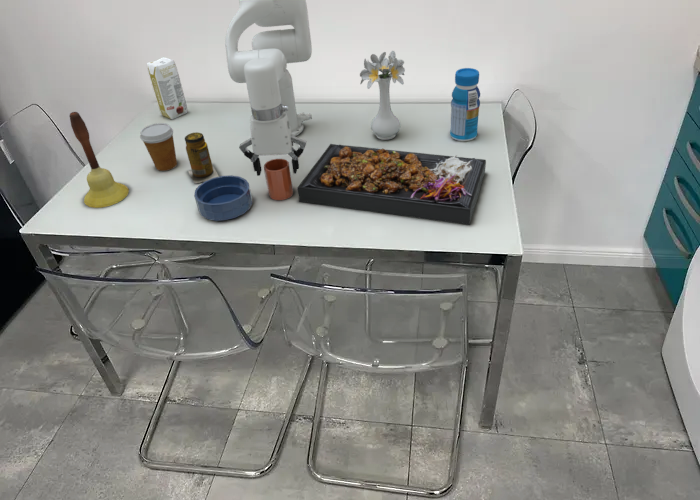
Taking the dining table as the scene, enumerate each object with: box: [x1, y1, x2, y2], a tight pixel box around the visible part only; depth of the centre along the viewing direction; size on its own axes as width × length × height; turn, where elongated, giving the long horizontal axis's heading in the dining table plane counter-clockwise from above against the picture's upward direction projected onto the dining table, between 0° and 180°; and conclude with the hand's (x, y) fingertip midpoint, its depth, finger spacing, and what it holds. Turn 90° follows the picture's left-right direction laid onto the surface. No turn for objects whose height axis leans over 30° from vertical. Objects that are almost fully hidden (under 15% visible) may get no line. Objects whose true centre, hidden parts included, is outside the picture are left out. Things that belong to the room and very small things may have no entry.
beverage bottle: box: [449, 67, 481, 142], centre depth 166 cm, size 8×8×20 cm
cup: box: [263, 158, 294, 201], centre depth 151 cm, size 7×7×9 cm
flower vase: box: [359, 50, 406, 141], centre depth 169 cm, size 13×18×25 cm
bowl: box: [193, 174, 253, 222], centre depth 149 cm, size 14×14×6 cm
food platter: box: [297, 143, 487, 226], centre depth 149 cm, size 45×25×10 cm, turn 71°
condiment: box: [184, 131, 220, 184], centre depth 161 cm, size 7×8×12 cm
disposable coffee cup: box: [139, 122, 178, 172], centre depth 167 cm, size 10×10×12 cm
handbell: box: [69, 111, 130, 209], centre depth 152 cm, size 12×12×25 cm
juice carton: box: [146, 56, 189, 120], centre depth 195 cm, size 8×9×19 cm
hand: (277, 172), depth 149 cm, fingers open, 9 cm apart
